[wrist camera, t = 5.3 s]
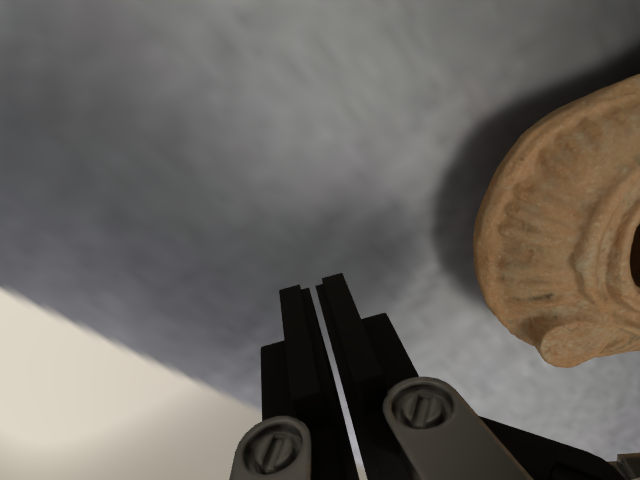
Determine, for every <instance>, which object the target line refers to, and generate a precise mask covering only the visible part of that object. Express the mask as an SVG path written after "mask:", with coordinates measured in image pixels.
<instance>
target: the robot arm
mask: <svg viewBox="0 0 640 480" xmlns="http://www.w3.org/2000/svg"><path fill="white" fill-rule="evenodd" d="M322 281H323V284H320V285H316V290H317V294H318V297H319V301H320V305H321V308H322V312H323V316H324V320H325V323H326V327H327V331H328V334H329V338H330V342H331V346H332V349H333V353H334V357H335V360H336V364H337V368H338V372H339V375H340V379H341V383H342V386H343V390H344V394H345V398H346V401H347V405H348V409H349V412H350V416H351V420H352V423H353V427H354V431H355V435H356V438H357V442H358V446H359V449H360V453H361V457H362V461H363V464H364V468H365V472H366V475H367V479H368V480H640V453H630V454H617V461H612V462H606V461H605V460H603V459H602V458H600V457H598V456H595V455H593V454H591V453H589V452H587V451H584V450H580V449H577V448H574V447H571V446H568V445H565V444H562V443H559V442H556V441H553V440H550V439H547V438H544V437H541V436H538V435H535V434H532V433H529V432H526V431H523V430H520V429H517V428H514V427H511V426H508V425H505V424H502V423H499V422H496V421H493V420H490V419H487V418H484V417H481V416H478V415H477V414H476V413H475V412H474V410H473V409H472V408H471V407H470V406H469V405H468V404H467V402H466V401H465V400H464V399H463V398H462V397H461V395H460V394H459V393H458V392H457V391H456V390H455V389H454V388H453V387H452V386H450V385H449V384H448V383H446V382H444V381H442V380H439V379H437V378H431V377H419V376H418V374H417V372H416V370H415V368H414V366H413V364H412V362H411V360H410V358H409V356H408V354H407V352H406V351H405V349H404V347H403V345H402V343H401V341H400V339H399V337H398V335H397V333H396V331H395V329H394V327H393V325H392V323H391V322H390V320H389V318H388V316H387V314H386V313H382V314H378V315H374V316H371V317H367V318H364V319H361V318H360V315H359V313H358V310H357V308H356V306H355V303H354V301H353V298H352V296H351V293H350V291H349V289H348V286H347V284H346V281H345V279H344V276H343V274H342V273H340V274H336V275H332V276H329V277H325V278H322ZM279 294H280V303H281V312H282V321H283V330H284V341H281V342H277V343H273V344H270V345H266V346H263V347H261V388H262V422H260V423H258V424H256V425H255V426H254V427H252V428H251V429H250V430H249V431H248V432H247V433H246V434H245V435H244V437H243V438H242V439H241V441H240V442H239V444H238V447H237V449H236V452H235V456H234V460H233V465H232V470H231V475H230V479H229V480H359V476H358V472H357V468H356V464H355V460H354V456H353V452H352V448H351V444H350V440H349V436H348V432H347V428H346V424H345V420H344V416H343V412H342V408H341V404H340V400H339V396H338V392H337V388H336V384H335V380H334V376H333V373H332V369H331V365H330V362H329V358H328V355H327V351H326V347H325V344H324V340H323V336H322V333H321V329H320V326H319V322H318V318H317V315H316V311H315V308H314V304H313V300H312V297H311V293H310V290H309V288H305V289H302V290H301V287H300V284H299V285H296V286H292V287H288V288H285V289H281V290H279Z"/></svg>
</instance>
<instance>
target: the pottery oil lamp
mask: <svg viewBox="0 0 640 480" xmlns="http://www.w3.org/2000/svg"><path fill="white" fill-rule="evenodd" d="M473 250H474V269H475V274H476V278H477V280H478V283H479V286H480V289H481V292H482V294H483V297H484V300H485V302H486V304H487V306H488V307H489V309H490V310H491V311H492V313H493V314H494V315H495V316H496V317H497V318H498V320H499V321H500V322H501V323H502V324H503V325H504V326H505V327H506V328H507V329H508V330H509V331H510V333H511V334H513V335H515V336H516V337H517V338H519V339H521V340H523V341H524V342H526V343H528V344H530V345H532V346H535V347H536V349H537V350H538V352H539V353H540V355H541V356H542V358H543V359H544V361H546V362H547V363H549V364H552V365H553V366H556V367H563V368H570V367H574V366H577V365H579V364H581V363H583V362H586V361H588V360H590V359H592V358H594V357H602V356H609V355H614V354H618V353H624V352H630V351H640V74H637V75H634V76H631V77H629V78H626V79H624V80H622V81H620V82H617V83H614V84H613V85H610V86H607V87H604V88H601V89H599V90H597V91H595V92H593V93H590V94H588V95H586V96H584V97H581V98H579V99H577V100H574V101H572V102H570V103H568V104H566V105H564V106H562V107H560V108H558V109H556V110H554V111H552V112H551V113H549V114H547V115H546V116H545V117H543V118H542V119H540V120H539V121H538V122H536V123H535V124H534V125H532V126H531V127H530V128H529V129H527V130H526V131H525V132H524V133H523V134H522V135H521V136H520V137H519V138H518V139H517V141H516V142H515V144H514V145H513V146H512V147H511V149H510V150H509V151H508V153H507V155H506V156H505V157H504V159H503V160H502V162H501V163H500V165H499V166H498V168H497V169H496V171H495V173H494V176H493V177H492V179H491V182H490V184H489V186H488V189H487V191H486V193H485V196H484V198H483V200H482V202H481V206H480V209H479V211H478V215H477V217H476V221H475V229H474V236H473Z"/></svg>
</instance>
